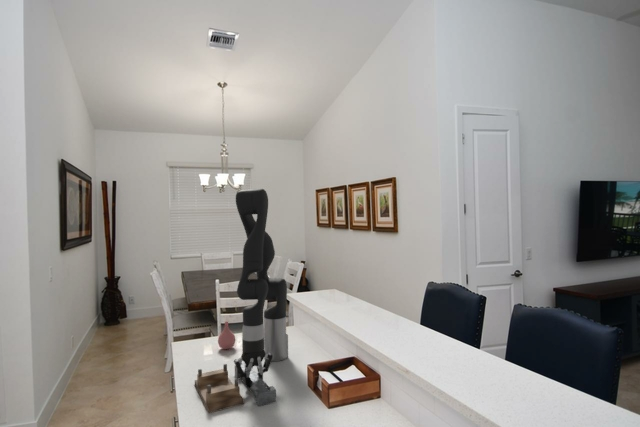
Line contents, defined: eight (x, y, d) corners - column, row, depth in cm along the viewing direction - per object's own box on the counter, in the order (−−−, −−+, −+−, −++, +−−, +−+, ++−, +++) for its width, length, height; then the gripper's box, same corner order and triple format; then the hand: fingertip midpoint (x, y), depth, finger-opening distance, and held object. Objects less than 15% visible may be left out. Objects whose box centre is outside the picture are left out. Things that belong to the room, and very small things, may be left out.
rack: (225, 377, 140) (225, 360, 140) (243, 403, 121) (243, 383, 121) (194, 384, 134) (194, 366, 134) (208, 412, 115) (208, 391, 115)
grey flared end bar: (250, 372, 144) (250, 361, 144) (276, 401, 122) (276, 389, 122) (234, 375, 141) (234, 365, 141) (258, 406, 119) (258, 393, 119)
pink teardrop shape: (229, 352, 165) (229, 325, 165) (214, 350, 168) (214, 323, 168) (238, 346, 173) (238, 320, 173) (224, 344, 175) (223, 319, 175)
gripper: (268, 330, 138) (269, 377, 138) (230, 336, 131) (230, 386, 131) (276, 336, 132) (276, 385, 132) (236, 343, 125) (237, 395, 125)
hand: (253, 385), depth 132 cm, fingers closed on grey flared end bar, 3 cm apart
